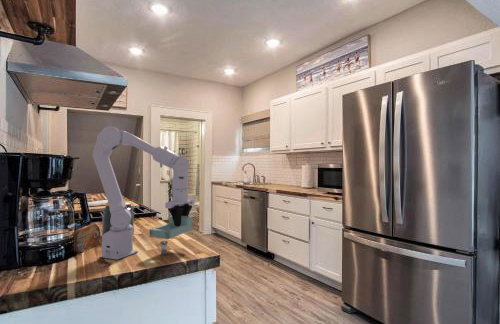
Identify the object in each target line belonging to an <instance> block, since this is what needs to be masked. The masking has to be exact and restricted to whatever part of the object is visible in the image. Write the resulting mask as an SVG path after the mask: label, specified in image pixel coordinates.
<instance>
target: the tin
mask: <svg viewBox="0 0 500 324" xmlns="http://www.w3.org/2000/svg"><path fill="white" fill-rule="evenodd" d="M71 236H73V237H74V240H75V247H76V251H77V252H76V253H84V251H85V252H86V251H89V250H90V249H92V248H95V247H96V246H97V245H99V242H100V240H101V230H100V227H99V225H97V224H89V225H86V226H82V227H81V228H78V229H75V230H74V232H72V234H71Z"/></svg>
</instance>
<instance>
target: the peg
mask: <svg viewBox="0 0 500 324" xmlns="http://www.w3.org/2000/svg"><path fill="white" fill-rule="evenodd" d="M159 243H160V256H162V257H167V256H168V243H169V241H167V240H162V241H160V242H159Z"/></svg>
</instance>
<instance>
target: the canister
mask: <svg viewBox="0 0 500 324" xmlns="http://www.w3.org/2000/svg"><path fill="white" fill-rule="evenodd" d="M123 200H124V202H125V205H126V207H127V208H128V209H129V210H130V211H131V214H132V218H131V222H130V225H132V226H133V234H134V232H135V227H134V226H135V225H134V224H135V223H134V222H135V221H134V220H135V219H134V218H135V215H134V210H135V207H133V203H132V202H131V201H130V200H128V199H127V200H126V199H123ZM101 212H103V216H102V217H101V219H102V230H101V234H102V236H103V235H104V234H105V233H106V232H108V231H110V227H112V225H111V223H110V219H111V213H110V208H109V203H108V202H106V203H104V208H103V209H102V210H101Z"/></svg>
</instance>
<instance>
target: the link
mask: <svg viewBox="0 0 500 324" xmlns="http://www.w3.org/2000/svg"><path fill="white" fill-rule="evenodd" d="M168 220H169V221H168V222H169V223H166V224H162V225H159V226H156V227H153V228H150V229H149V237H150V238H154V239H155V238H156V239H164V240H169V239H172V238H175V237H177V236H179V235H182V234H185V233H187V232H191V231H192V230H193V216H192V215H191V216H190V215H188V216H181V225H180V226H179V227H177V226H174V222H173V218H172V215H170V216H168Z"/></svg>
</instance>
